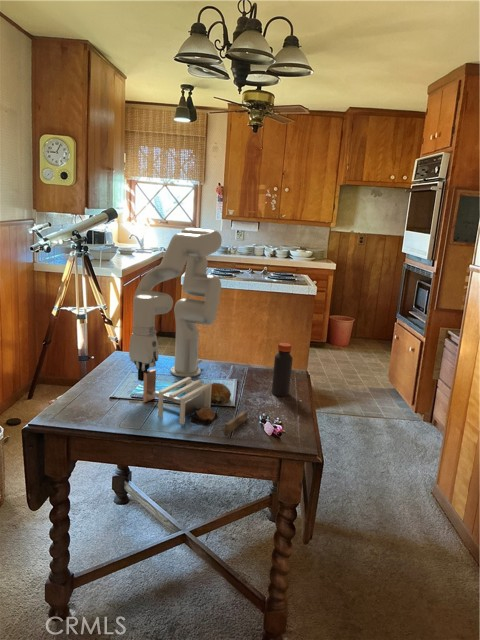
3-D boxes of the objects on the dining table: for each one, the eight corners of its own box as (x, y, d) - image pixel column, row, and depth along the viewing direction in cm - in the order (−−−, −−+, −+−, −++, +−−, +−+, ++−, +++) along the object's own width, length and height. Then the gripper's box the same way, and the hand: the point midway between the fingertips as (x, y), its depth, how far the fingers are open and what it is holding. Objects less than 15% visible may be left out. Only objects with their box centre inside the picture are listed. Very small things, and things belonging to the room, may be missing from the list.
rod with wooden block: (158, 393, 176) (159, 366, 174) (203, 407, 167) (205, 378, 165) (135, 405, 165) (136, 376, 162) (182, 420, 156) (183, 389, 153)
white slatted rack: (187, 400, 173) (188, 376, 171) (210, 407, 168) (211, 383, 166) (157, 416, 158) (158, 391, 156) (182, 424, 154) (183, 398, 152)
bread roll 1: (197, 411, 166) (198, 401, 165) (220, 415, 164) (221, 405, 163) (186, 423, 156) (186, 413, 155) (210, 428, 154) (211, 417, 153)
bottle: (292, 394, 186) (297, 345, 181) (281, 398, 181) (286, 348, 176) (278, 388, 190) (283, 340, 185) (268, 392, 185) (272, 343, 180)
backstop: (243, 418, 161) (244, 410, 161) (246, 419, 161) (247, 411, 160) (224, 433, 150) (224, 424, 149) (227, 434, 150) (228, 425, 149)
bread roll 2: (232, 408, 177) (237, 388, 178) (221, 406, 168) (227, 384, 169) (208, 402, 181) (214, 382, 182) (197, 400, 172) (202, 378, 173)
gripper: (167, 332, 166) (165, 381, 170) (134, 324, 172) (133, 372, 177) (153, 336, 159) (152, 387, 163) (119, 328, 166) (119, 377, 170)
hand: (142, 379), depth 170 cm, fingers closed
